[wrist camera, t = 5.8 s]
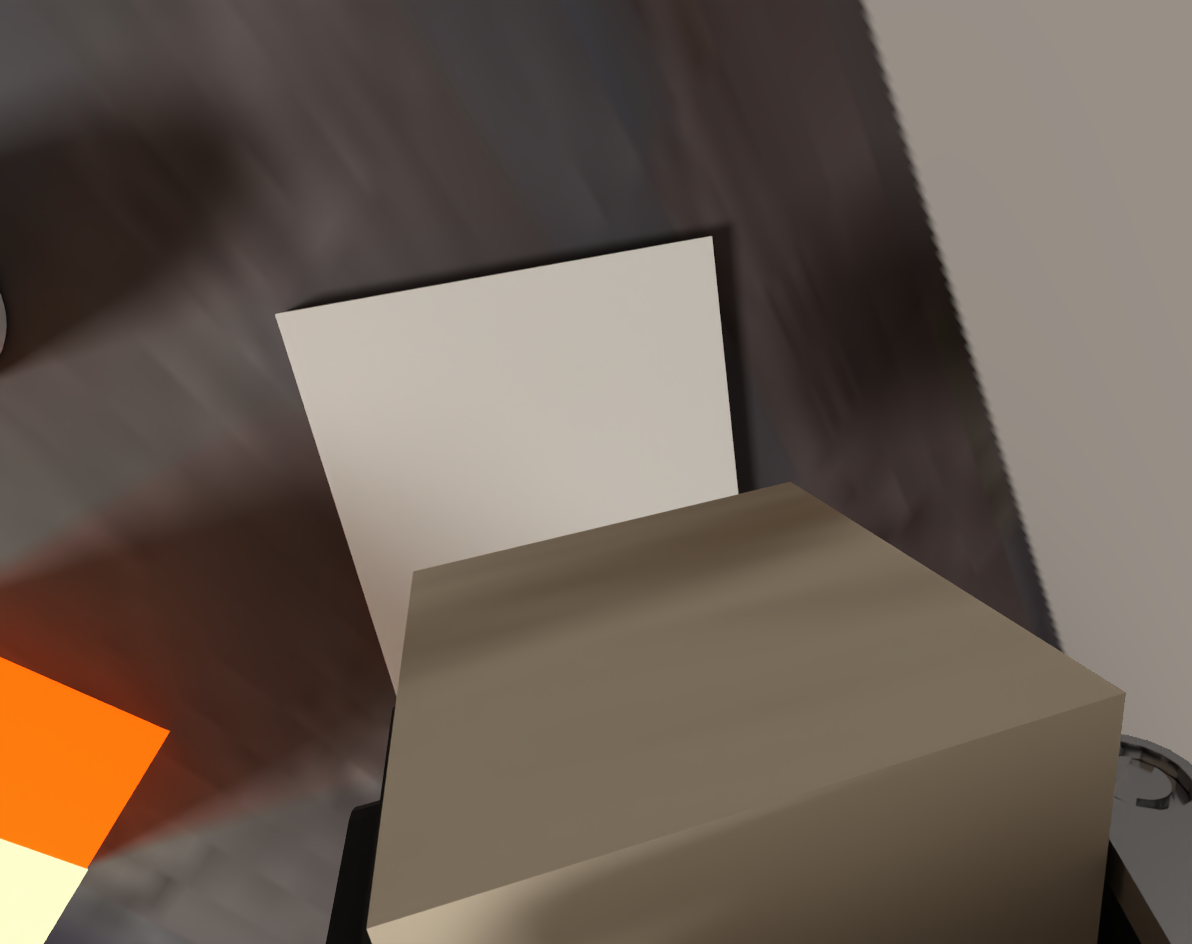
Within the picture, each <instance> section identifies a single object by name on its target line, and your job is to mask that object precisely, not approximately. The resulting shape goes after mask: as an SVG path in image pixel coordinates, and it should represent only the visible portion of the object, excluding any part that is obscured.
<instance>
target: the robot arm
mask: <svg viewBox="0 0 1192 944" xmlns="http://www.w3.org/2000/svg"><path fill="white" fill-rule="evenodd" d="M394 714H395V707H393V711H392V717H391V724H390V731H389V739H388V746H387V753H386V761H385V768H384V775H383V783H382V790H381V797H380V800H379V801H376V802H372V803H369V804H365V805H362V806H358V807H355V808H354V809H353V811H352V812H351V816H350V819H349V824H348V829H347V834H346V839H345V845H344V850H343V855H342V861H341V866H340V871H339V877H338V882H337V887H336V893H335V898H334V903H333V908H332V914H331V919H330V924H329V930H328V935H327V940H326V944H372V942H371V939H370V937H369V934H368V932H367V929H366V928H367V921H368V913H369V905H370V898H371V890H372V882H373V875H374V867H375V859H376V852H377V844H378V836H379V829H380V821H381V813H382V806H383V798H384V790H385V783H386V775H387V767H388V760H389V752H390V744H391V737H392V729H393V721H394ZM1097 944H1192V765H1191V764H1190V763H1189V762H1188V761H1187V760H1185V759H1184V758H1182V757H1180V756H1179V755H1177V754H1176V753H1174V752H1172V751H1171V750H1169V749H1167V748H1164V747H1162V746H1159V745H1157V744H1155V743H1153V742H1150V741H1148V740H1143V739H1140V738H1136V737H1133V736H1129V735H1121V738H1120V747H1119V756H1118V764H1117V773H1116V782H1115V791H1114V799H1113V808H1112V817H1111V826H1110V834H1109V843H1108V852H1107V861H1106V869H1105V878H1104V887H1103V896H1102V904H1101V913H1100V922H1099V931H1098V939H1097Z"/></svg>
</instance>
